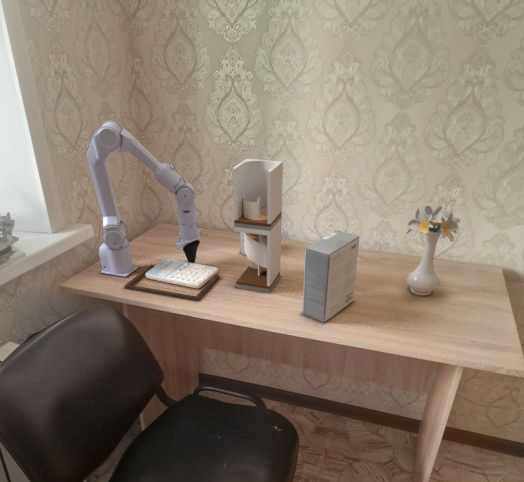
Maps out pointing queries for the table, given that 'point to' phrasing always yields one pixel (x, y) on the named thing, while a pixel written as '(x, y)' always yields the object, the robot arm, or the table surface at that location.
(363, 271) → the table surface
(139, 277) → the tray
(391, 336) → the table surface
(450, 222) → the flower vase
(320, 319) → the hard drive box
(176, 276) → the calculator
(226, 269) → the table surface
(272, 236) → the white shelf tower
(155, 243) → the table surface
